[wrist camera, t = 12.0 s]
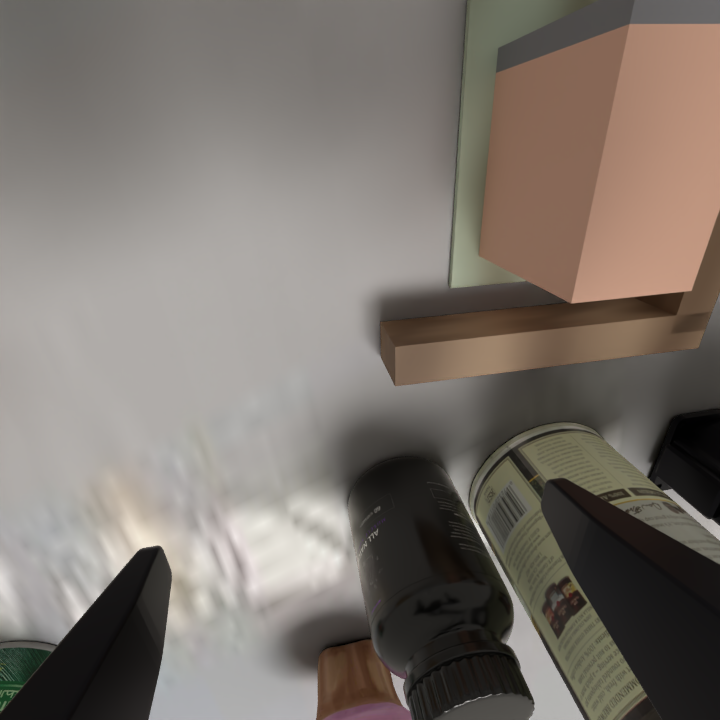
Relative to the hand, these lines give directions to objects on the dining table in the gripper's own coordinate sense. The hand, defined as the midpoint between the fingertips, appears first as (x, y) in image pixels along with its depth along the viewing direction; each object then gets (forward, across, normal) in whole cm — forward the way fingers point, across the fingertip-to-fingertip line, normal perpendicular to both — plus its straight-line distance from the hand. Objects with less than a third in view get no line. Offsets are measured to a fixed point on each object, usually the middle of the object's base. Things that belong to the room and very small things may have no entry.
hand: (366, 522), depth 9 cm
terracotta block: (+12, -10, -7) cm, 17 cm away
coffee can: (+12, -14, +13) cm, 23 cm away
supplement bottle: (+12, -4, +12) cm, 18 cm away
